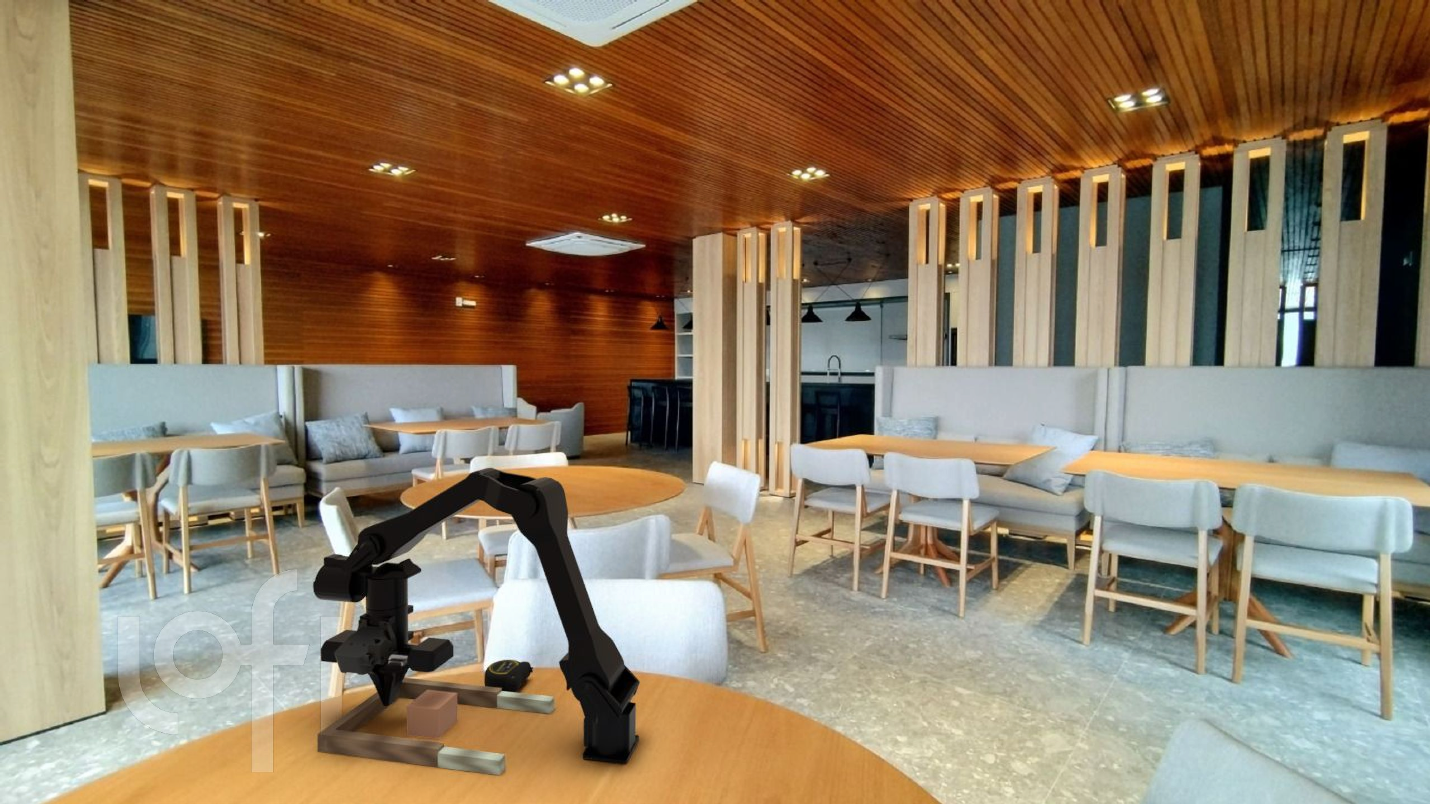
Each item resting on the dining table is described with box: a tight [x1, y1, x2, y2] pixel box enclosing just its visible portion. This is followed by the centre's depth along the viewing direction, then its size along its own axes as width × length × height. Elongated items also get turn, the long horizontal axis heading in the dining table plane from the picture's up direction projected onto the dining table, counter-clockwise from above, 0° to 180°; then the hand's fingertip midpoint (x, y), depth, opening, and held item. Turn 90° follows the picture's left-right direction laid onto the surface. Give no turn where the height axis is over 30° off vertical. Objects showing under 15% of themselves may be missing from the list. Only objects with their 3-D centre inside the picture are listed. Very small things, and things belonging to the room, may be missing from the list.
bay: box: [316, 677, 555, 776], centre depth 99 cm, size 28×18×2 cm, turn 80°
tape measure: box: [483, 659, 534, 693], centre depth 112 cm, size 7×7×4 cm
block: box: [406, 690, 458, 740], centre depth 99 cm, size 5×5×4 cm
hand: (388, 705), depth 100 cm, fingers closed
